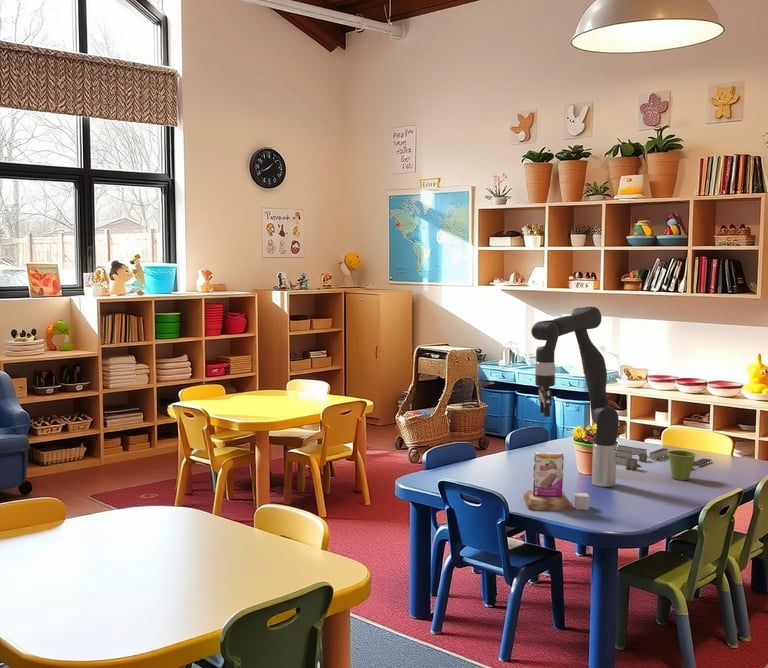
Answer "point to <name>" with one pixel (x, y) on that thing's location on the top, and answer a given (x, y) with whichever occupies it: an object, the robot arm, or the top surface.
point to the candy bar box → (547, 474)
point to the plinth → (546, 506)
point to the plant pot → (681, 463)
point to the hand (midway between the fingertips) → (544, 414)
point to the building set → (643, 456)
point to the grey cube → (581, 500)
